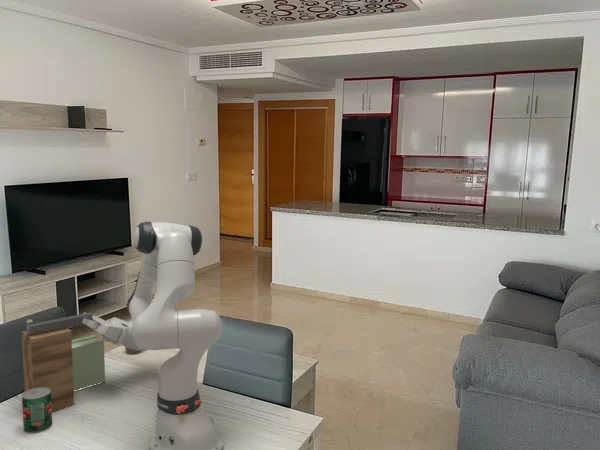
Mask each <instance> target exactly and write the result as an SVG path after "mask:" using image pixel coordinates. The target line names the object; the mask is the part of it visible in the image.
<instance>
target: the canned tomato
mask: <svg viewBox="0 0 600 450" xmlns="http://www.w3.org/2000/svg"><path fill="white" fill-rule="evenodd" d="M21 405H22V423H23V424H22V425H23V429H22V430H23V431H24V432H25V433H27V434H38V433H42V432H45V431H46V430H48V429H50V428H51V427H52V426H53V412H52V407H51V389H50V388H47V387H37V388H32V389H29V390H27V391H24V392H23V393H22V394H21Z"/></svg>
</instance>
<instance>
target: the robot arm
mask: <svg viewBox="0 0 600 450" xmlns="http://www.w3.org/2000/svg"><path fill="white" fill-rule="evenodd" d="M202 234H203V233H202V232H201V230H200V229H199V228H198V227H197V226H193V225H190V224H188V225H186V224H185V225H184V224H180V223H173V222H166V221H162V222H161V221H155V222H154V221H152V222H151V221H143V222H140V223H139V224H137V226H136V228H135V230H134V232H133V243H134V247H135V249H136V250H137V252H138V253H141V254H142V258H141V265H140V269H139V272H138V275H137V279H136V283H135V287H134V289H133V290H134V291H133V292H132V293H131V295H130V297H128V300H127V302H126V309H127V311H128V313H129V315H130V318H131V317H132V320H131V321H130V322H128V320H127V321H126V320H124V319H121V318H118V317H115V316H114V317H112V318H110V319H106V320H105V319H103V318H101V317H98V316H95V315H93V321H92V320H89V319H86V318H82V320H81V323H83V324H85V326H87V327H88V328H90V329H92V330H93V331H95V332H97V334H100V335H101V336H102V340H104V342H107V343H111V344H113V345H117V346H120V345H121V346H123V347H124V348H125V347H126V348H129V349H133V350H137V351H141V352H145V351H148V350H150V351H161V350H163V351H164V350H171V349H172V350H174V349H178V350H179V351H178V352H177V353H176V354H175V355H173V356H171V357H170V358H168V359H166V360H165V361H164V362H163V363H162V364H161V365H160V367H159V369H158V392H157V395H156V396H157V397H156V406H157V408H158V409H157V411H156V413H155V416H154V419H153V428H152V440H151V441H150V442H149V444H148V449H149V450H223V449H224V442H223V441H222V440H221V439H220V438H219V437H218V435H217V434H216V431H215V427H214V423H215V421H214V418H213V417H211V416H210V417H209V416H208V414H207V412H206V410H205V408H203V406H202V405H201V404H202V401H203V399H202V398H201V397H200V396H201V395H200V393H199V389H198V373H199V372H198V371H199V366H200V364H201V360H202V358H203V356H204V354H205V353H206V352H207V350H208V349H210V347H212V346H213V345H214V344H215V343H217V341H218V340H220V337H221V334H222V331H223V322H222V319H221V317H220V315H219V314H218V313H217V312H216V311H215V310H210V309H204V308H203V309H202V308H195V309H193V308H192V309H175V306H176V304H178V303H179V302H181V301H183V300H185V299H187V298H188V297H190V296H191V295H192V294H193V293H194V291H195V288H196V282H195V281H196V278H195V277H196V276H195V261H194V260H195V258H194V256H196V255H197V254H198V253H199V252H200V251H201V248H202V245H203V236H202ZM155 283H156V288H155V294H154V296H153V295H152V292H153V288H154V284H155ZM85 313H86V312H83V313H82V314H85Z"/></svg>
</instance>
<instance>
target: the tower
mask: <svg viewBox="0 0 600 450" xmlns="http://www.w3.org/2000/svg"><path fill="white" fill-rule="evenodd" d="M33 322H34V321H33V320H32V319H27V320H26V321H25V325H28V324H33ZM72 337H73V336H72V330H71V329H70V328H66V329H62V330H57V331H52V332H47V333H43V334H38V335H33V336H29V335H28V334H27V330H23V331H21V346H22V347H21V348H22V349H21V350H22V366H23V388H24V389H23V390H24V392H25V391H27V390H29V389H32V388H37V387H47V388H50V389H51V407H52V413H55V412H58V411H60V409H61V410H64V408H65V409H67V408H66V407H68V408H70V407H69V406H71V407H73V406H72V405H74V406H75V398H74V397H75V395H74V393H75V392H74V391H73V363H72Z"/></svg>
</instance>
